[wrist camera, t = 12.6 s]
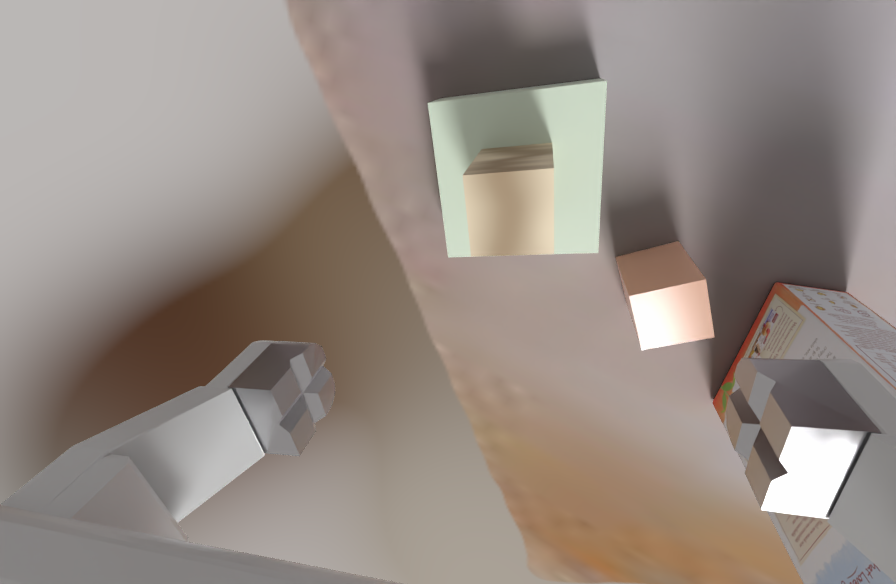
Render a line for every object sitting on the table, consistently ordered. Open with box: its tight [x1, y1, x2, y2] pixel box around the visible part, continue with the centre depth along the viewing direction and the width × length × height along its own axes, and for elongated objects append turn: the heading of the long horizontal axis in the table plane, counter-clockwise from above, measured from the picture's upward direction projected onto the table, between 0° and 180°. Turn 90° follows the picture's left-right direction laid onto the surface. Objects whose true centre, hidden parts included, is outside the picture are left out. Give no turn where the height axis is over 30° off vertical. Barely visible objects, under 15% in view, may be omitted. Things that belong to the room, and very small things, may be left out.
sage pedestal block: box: [428, 78, 607, 257], centre depth 32 cm, size 12×12×4 cm
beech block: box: [463, 143, 554, 257], centre depth 27 cm, size 5×5×8 cm
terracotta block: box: [615, 241, 714, 350], centre depth 33 cm, size 5×5×7 cm
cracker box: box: [713, 282, 896, 584], centre depth 28 cm, size 14×6×21 cm, turn 176°
